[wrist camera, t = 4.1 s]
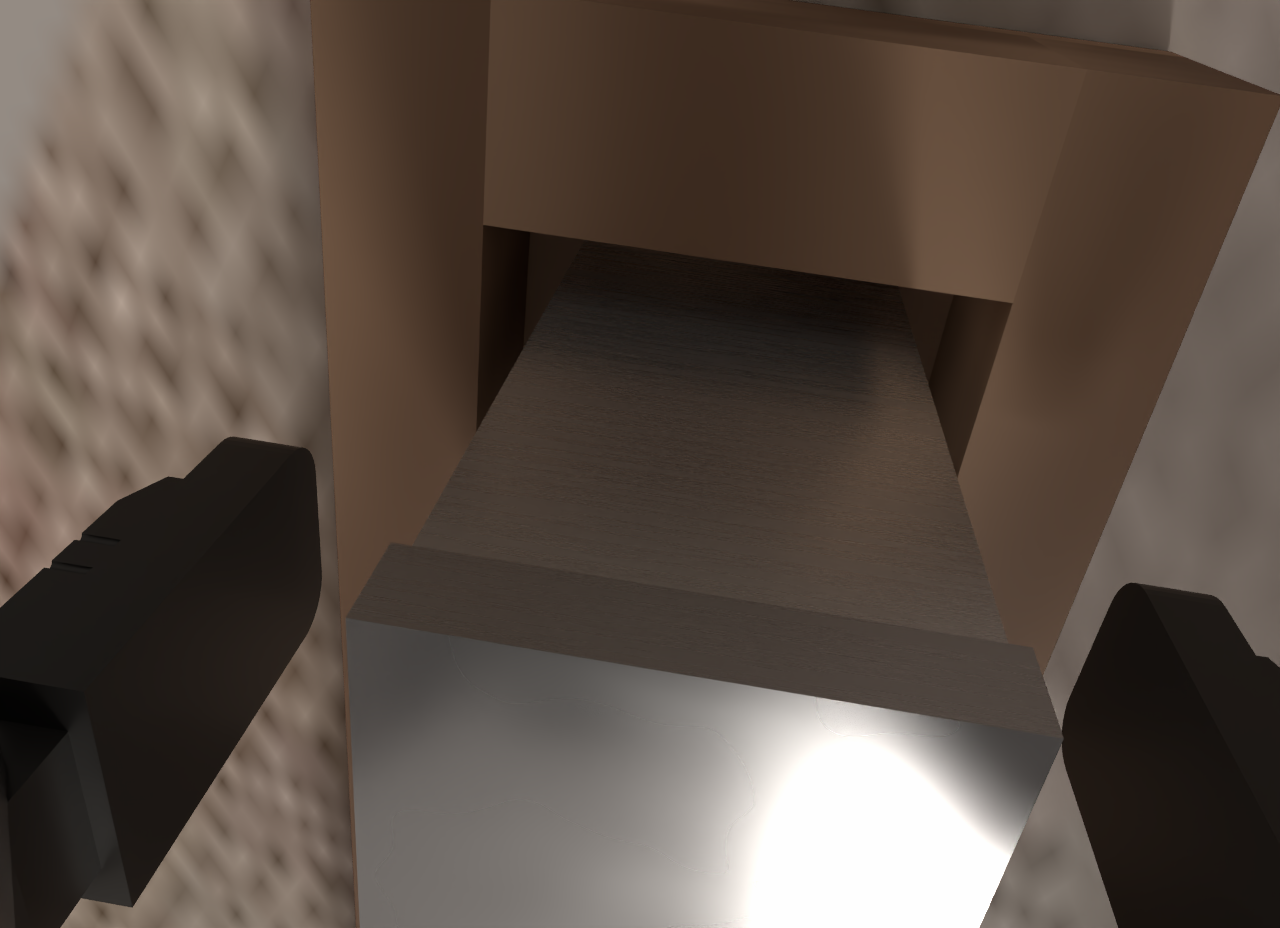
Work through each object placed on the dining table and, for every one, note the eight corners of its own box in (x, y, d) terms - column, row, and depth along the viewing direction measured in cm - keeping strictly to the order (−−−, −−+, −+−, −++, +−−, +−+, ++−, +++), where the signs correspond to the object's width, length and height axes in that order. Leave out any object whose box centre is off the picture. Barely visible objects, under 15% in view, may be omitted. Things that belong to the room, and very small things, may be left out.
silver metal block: (906, 274, 13) (1064, 740, 6) (836, 545, 15) (889, 1127, 8) (580, 226, 13) (344, 616, 6) (557, 500, 15) (364, 1028, 8)
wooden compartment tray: (1170, 51, 12) (1295, 100, 9) (771, 1178, 25) (770, 1339, 22) (410, -51, 12) (300, -36, 9) (413, 1109, 25) (368, 1259, 22)
